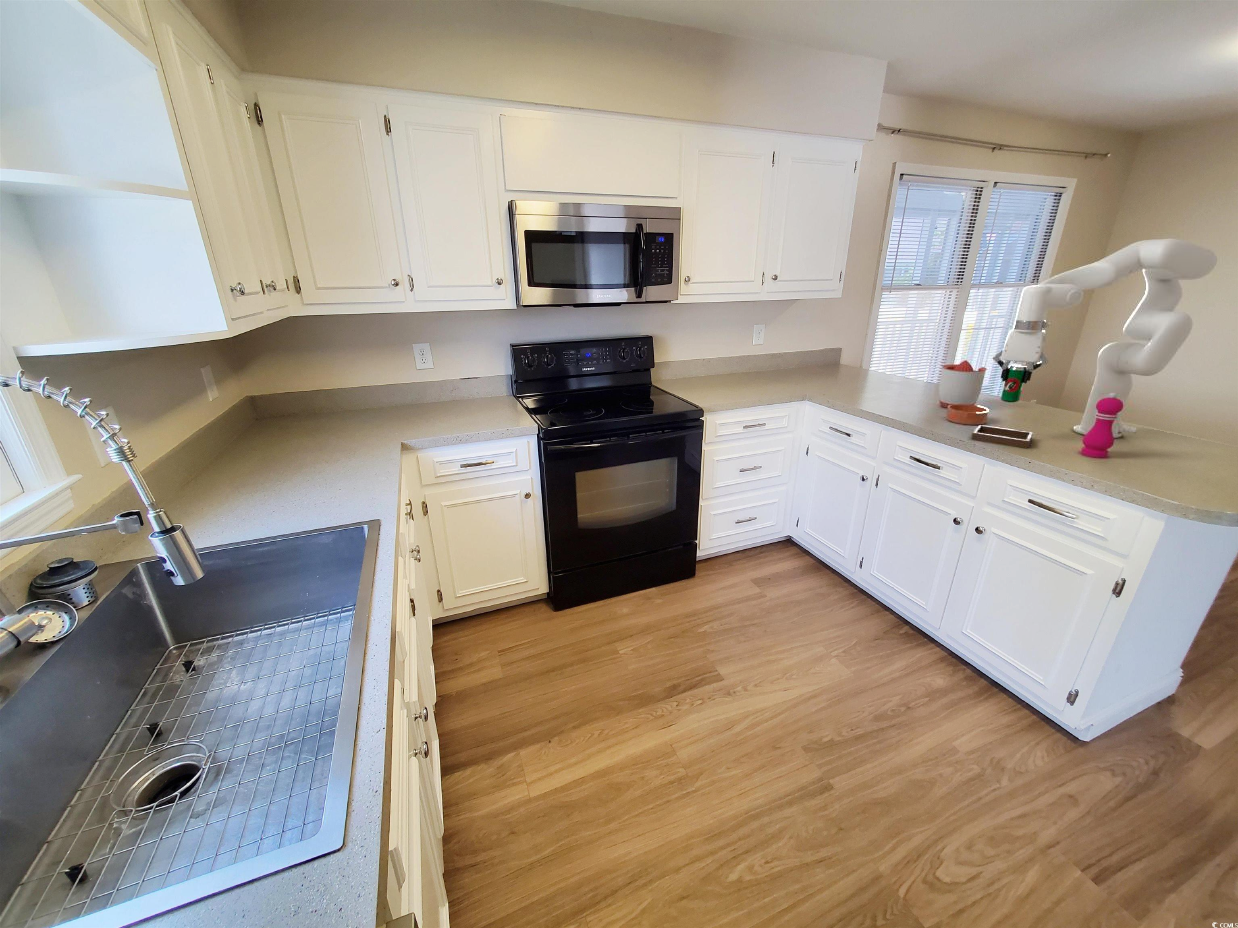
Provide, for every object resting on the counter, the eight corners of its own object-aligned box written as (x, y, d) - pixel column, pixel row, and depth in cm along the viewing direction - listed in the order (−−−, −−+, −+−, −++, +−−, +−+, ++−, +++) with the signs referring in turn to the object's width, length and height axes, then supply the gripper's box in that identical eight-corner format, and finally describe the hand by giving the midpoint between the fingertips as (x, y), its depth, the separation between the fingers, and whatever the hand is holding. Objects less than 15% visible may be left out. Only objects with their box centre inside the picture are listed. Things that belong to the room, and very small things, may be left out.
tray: (1031, 439, 171) (1033, 432, 170) (1026, 448, 164) (1029, 441, 163) (977, 431, 181) (979, 424, 180) (971, 439, 174) (972, 432, 173)
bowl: (988, 419, 194) (991, 407, 193) (982, 427, 186) (985, 414, 184) (949, 414, 203) (952, 402, 201) (942, 421, 194) (944, 409, 192)
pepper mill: (1077, 449, 161) (1096, 389, 154) (1108, 453, 157) (1129, 391, 149) (1078, 455, 156) (1098, 393, 149) (1109, 460, 151) (1131, 396, 144)
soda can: (1021, 402, 165) (1031, 367, 161) (1004, 402, 166) (1013, 367, 162) (1013, 399, 170) (1023, 364, 166) (997, 399, 171) (1005, 364, 167)
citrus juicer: (989, 407, 210) (1000, 360, 202) (960, 413, 204) (971, 364, 197) (953, 400, 223) (963, 355, 216) (926, 405, 217) (935, 359, 210)
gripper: (1064, 326, 156) (1048, 382, 163) (998, 324, 167) (985, 377, 174) (1062, 328, 151) (1045, 386, 158) (994, 326, 162) (981, 380, 169)
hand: (1014, 381), depth 166 cm, fingers closed on soda can, 5 cm apart
